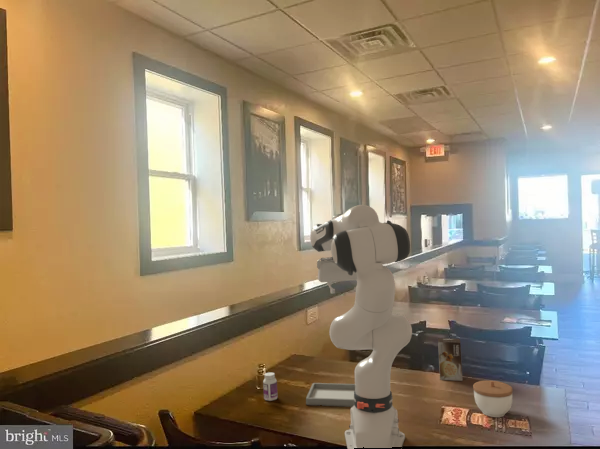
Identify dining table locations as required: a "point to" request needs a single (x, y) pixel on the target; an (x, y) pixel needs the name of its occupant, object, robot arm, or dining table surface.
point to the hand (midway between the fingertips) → (344, 292)
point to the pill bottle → (270, 387)
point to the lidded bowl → (493, 397)
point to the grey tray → (331, 394)
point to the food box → (450, 359)
